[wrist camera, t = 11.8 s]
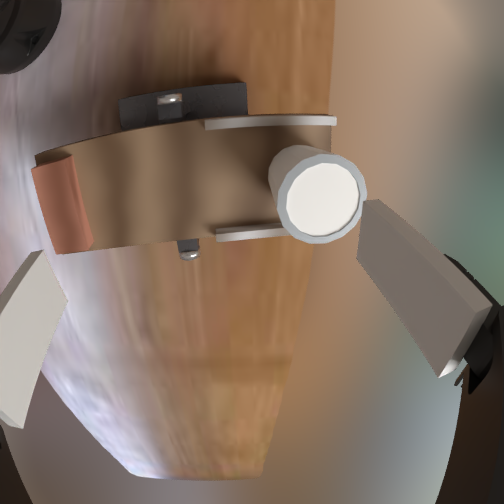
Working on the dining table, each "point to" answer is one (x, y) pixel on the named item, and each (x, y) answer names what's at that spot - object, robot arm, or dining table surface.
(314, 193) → the shot glass
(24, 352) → the robot arm
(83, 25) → the dining table surface
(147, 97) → the stand
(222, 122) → the beam
